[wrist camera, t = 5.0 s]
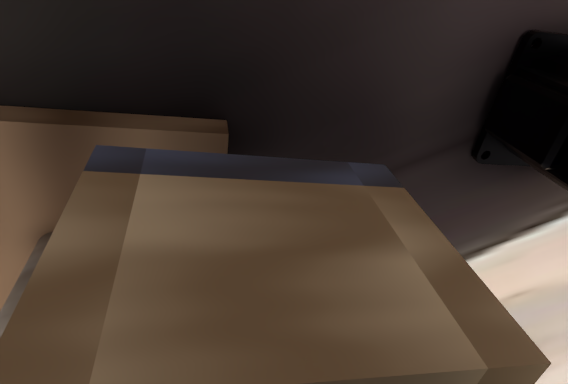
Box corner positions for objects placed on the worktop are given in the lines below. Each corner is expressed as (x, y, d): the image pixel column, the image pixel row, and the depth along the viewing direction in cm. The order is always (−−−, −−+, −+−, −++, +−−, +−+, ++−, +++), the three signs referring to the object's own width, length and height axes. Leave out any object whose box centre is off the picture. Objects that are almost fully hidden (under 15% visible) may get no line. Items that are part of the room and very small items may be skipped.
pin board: (226, 120, 17) (237, 193, 12) (206, 417, 29) (207, 514, 24) (-167, 94, 14) (-370, 179, 9) (-5, 439, 26) (-52, 555, 21)
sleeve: (384, 164, 9) (550, 363, 5) (325, 338, 12) (394, 551, 8) (96, 145, 7) (-36, 411, 3) (113, 348, 10) (58, 619, 6)
